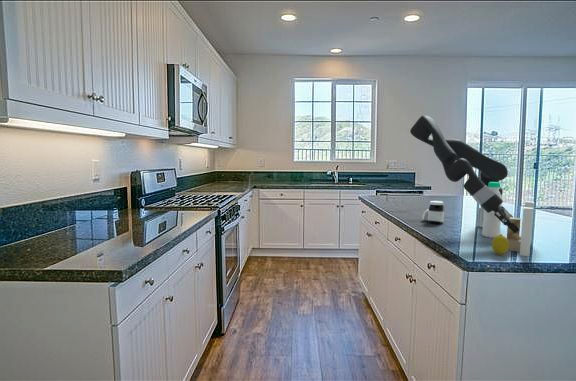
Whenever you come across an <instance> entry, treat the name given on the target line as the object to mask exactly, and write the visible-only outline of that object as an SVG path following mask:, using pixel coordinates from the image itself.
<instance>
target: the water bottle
mask: <svg viewBox="0 0 576 381" xmlns="http://www.w3.org/2000/svg"><path fill="white" fill-rule="evenodd" d="M488 187H489V188H490V189H491V190H492V191H493V192H494V193H495V194H496V195H498V196H499V197H500V198H501V199H502V200H503V195H502V196H501V195H500V192H499V188H500V187H501V183H500V181H499V182H489V183H488ZM502 204H503V203H502ZM502 204H500V205H499V206H501V207H502V206H503V205H502ZM494 213H495V212H494V211H491V212H489V213H487V212H486V211H485V210H484V214H483V218H484V220H483V228H482V231H481V235H482V236H483V237H484V236H485V238H488V237H489V239H493V238H494V237H496V236H498V235H500V234H501V230H500V229H501V221H500V220H499V219H498V218H497V217H496V216H495V215H494Z"/></svg>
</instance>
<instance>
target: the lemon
mask: <svg viewBox="0 0 576 381" xmlns="http://www.w3.org/2000/svg"><path fill="white" fill-rule="evenodd" d="M508 248H509V242H508V239H507V236H505V235H503V234H501V233H500V235H498V236H496V237H494V238H492V240H491V249H492V250H493V252H494V253H496V254H497V255H498V256H501V255H503V254H506V253H507V252H508V251H509V250H508Z"/></svg>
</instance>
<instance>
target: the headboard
mask: <svg viewBox="0 0 576 381" xmlns="http://www.w3.org/2000/svg"><path fill="white" fill-rule="evenodd" d="M522 208H523V209H522V220H521V221H522V222H521V231H520V232H521V233H520V235H519V239H521V240H515V239H508V242H509V248H508V251H511V252H517V253H518V252H519V256H524V257H530V255H531V254H530V253H531V245H532V234H533V233H532V232H533V225H534V224H533V222H534V209H535V201H528V200H526V201H525V204H524V207H522Z"/></svg>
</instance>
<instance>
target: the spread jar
mask: <svg viewBox="0 0 576 381" xmlns="http://www.w3.org/2000/svg"><path fill="white" fill-rule="evenodd" d="M444 204H445V203H444V201H442V200H430V201H429V207H428V208H427V209H426V210H424V212H423V213H422V215H421V218H422V220H424V221H428V223H429V224H432V225H442V224H444V221H445V206H444Z"/></svg>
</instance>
